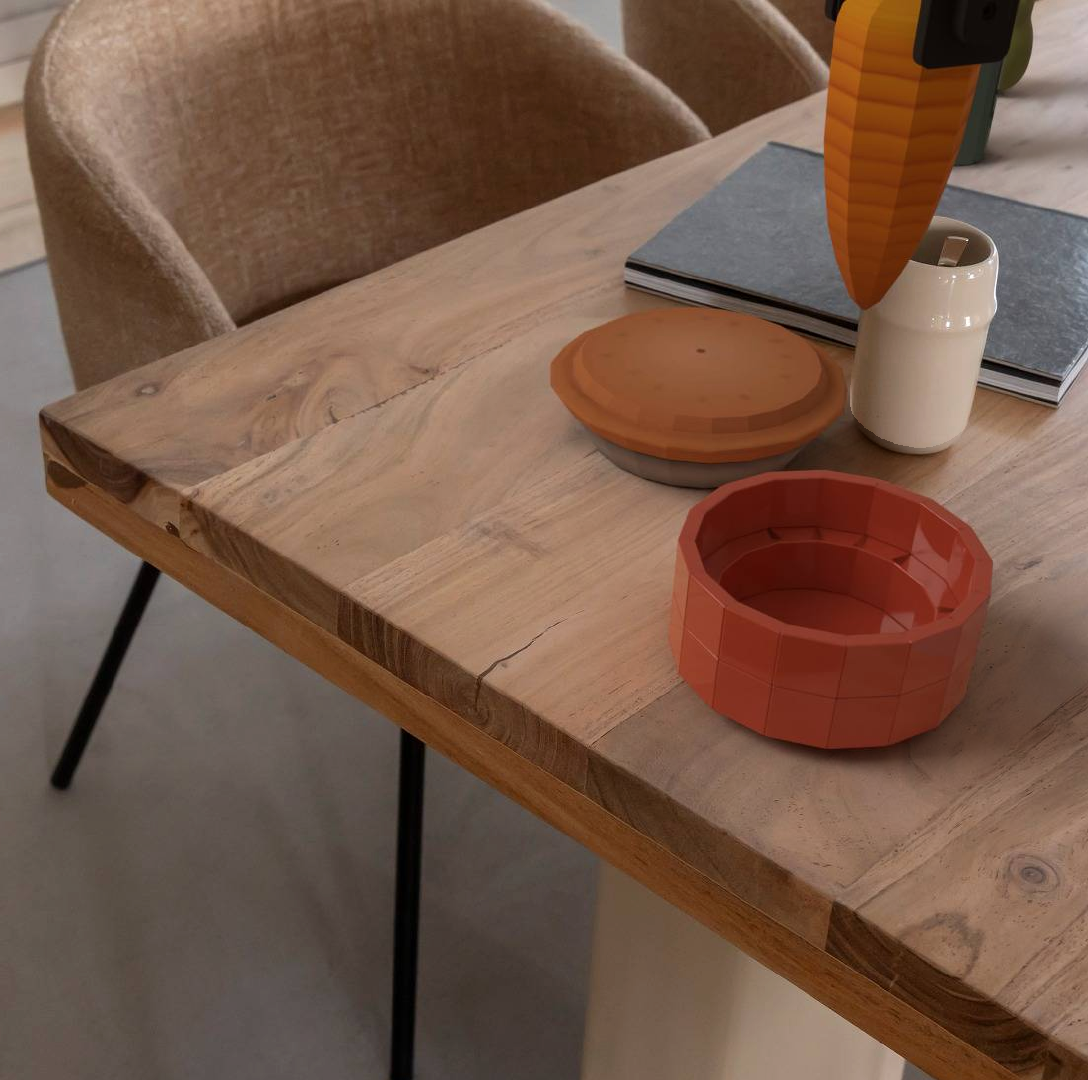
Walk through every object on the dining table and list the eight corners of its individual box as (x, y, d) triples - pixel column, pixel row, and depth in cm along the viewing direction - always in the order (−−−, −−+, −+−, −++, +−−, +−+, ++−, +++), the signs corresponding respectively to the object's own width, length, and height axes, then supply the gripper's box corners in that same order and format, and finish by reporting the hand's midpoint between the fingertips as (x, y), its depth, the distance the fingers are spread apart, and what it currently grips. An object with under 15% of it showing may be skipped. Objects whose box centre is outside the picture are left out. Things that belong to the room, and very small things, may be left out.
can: (891, 140, 116) (925, -60, 107) (961, 136, 117) (1001, -63, 108) (923, 167, 111) (962, -40, 102) (996, 162, 112) (1041, -44, 103)
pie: (883, 416, 80) (899, 334, 77) (759, 547, 69) (772, 458, 66) (639, 343, 87) (645, 265, 84) (494, 452, 76) (494, 367, 73)
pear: (1033, 98, 125) (1060, -24, 119) (977, 102, 124) (1002, -21, 118) (1000, 79, 129) (1025, -40, 123) (946, 83, 128) (969, -37, 122)
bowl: (766, 549, 69) (781, 440, 66) (1011, 655, 63) (1043, 541, 59) (612, 674, 61) (620, 558, 58) (873, 809, 55) (900, 689, 52)
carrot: (767, 305, 53) (825, -146, 44) (851, 269, 56) (921, -163, 47) (878, 351, 50) (963, -122, 41) (960, 311, 53) (1057, -142, 44)
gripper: (1426, -741, 31) (1183, 107, 42) (970, -663, 44) (873, -29, 55) (1141, -762, 29) (962, 134, 40) (750, -674, 42) (695, -14, 53)
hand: (912, 33), depth 47 cm, fingers closed on carrot, 4 cm apart
